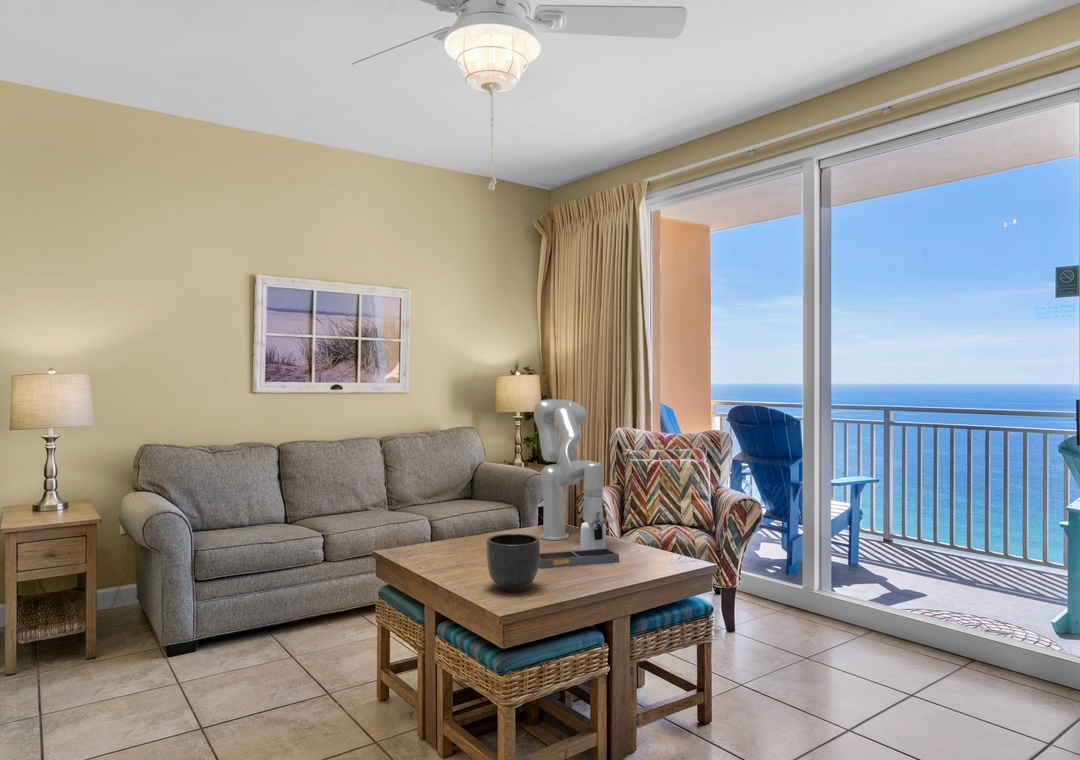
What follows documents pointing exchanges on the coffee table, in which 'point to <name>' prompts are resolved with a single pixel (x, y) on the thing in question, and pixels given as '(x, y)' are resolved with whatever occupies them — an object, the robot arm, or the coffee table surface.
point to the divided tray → (577, 558)
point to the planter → (513, 560)
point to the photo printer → (591, 537)
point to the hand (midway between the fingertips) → (593, 537)
